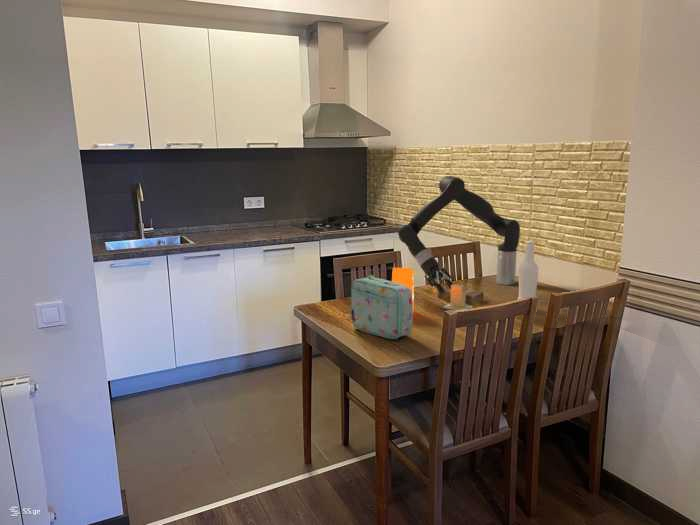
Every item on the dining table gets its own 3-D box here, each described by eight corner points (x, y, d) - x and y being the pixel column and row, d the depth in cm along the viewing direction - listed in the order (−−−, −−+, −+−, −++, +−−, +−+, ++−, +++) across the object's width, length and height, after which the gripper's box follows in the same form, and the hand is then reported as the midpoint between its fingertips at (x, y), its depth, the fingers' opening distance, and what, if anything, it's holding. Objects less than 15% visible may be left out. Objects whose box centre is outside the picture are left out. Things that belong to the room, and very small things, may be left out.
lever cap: (450, 306, 220) (450, 285, 218) (454, 304, 223) (454, 283, 221) (461, 308, 217) (461, 287, 215) (465, 306, 219) (465, 285, 217)
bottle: (532, 313, 209) (537, 243, 203) (513, 310, 214) (517, 241, 208) (538, 308, 216) (543, 240, 209) (520, 305, 220) (523, 238, 214)
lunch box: (345, 327, 197) (344, 275, 193) (363, 321, 204) (363, 270, 200) (397, 344, 179) (397, 287, 174) (415, 337, 186) (415, 281, 181)
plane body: (437, 297, 235) (437, 286, 234) (449, 293, 242) (449, 281, 241) (472, 305, 223) (472, 292, 222) (483, 300, 230) (483, 287, 229)
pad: (443, 307, 220) (443, 306, 220) (452, 303, 226) (452, 302, 226) (463, 312, 213) (463, 310, 213) (472, 307, 219) (472, 306, 219)
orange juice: (412, 316, 209) (412, 270, 205) (391, 315, 211) (391, 269, 207) (413, 311, 217) (414, 266, 212) (393, 310, 218) (393, 265, 214)
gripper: (422, 259, 219) (444, 288, 214) (440, 254, 229) (461, 282, 224) (412, 269, 224) (433, 298, 219) (430, 263, 234) (451, 291, 229)
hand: (447, 289), depth 221 cm, fingers open, 8 cm apart
